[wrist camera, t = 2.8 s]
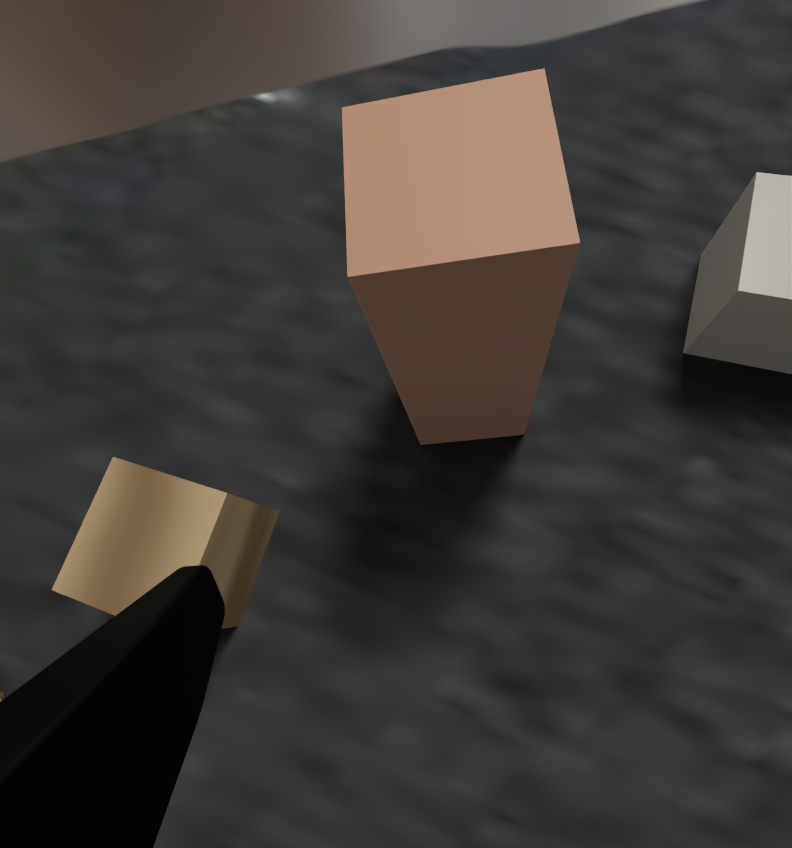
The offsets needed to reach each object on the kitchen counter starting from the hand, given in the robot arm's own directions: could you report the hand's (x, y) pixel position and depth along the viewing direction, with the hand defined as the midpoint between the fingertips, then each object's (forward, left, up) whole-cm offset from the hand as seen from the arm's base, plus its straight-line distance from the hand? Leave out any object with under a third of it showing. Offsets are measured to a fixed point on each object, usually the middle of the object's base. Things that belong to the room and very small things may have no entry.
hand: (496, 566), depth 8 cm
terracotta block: (+3, -7, -13) cm, 16 cm away
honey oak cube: (+12, +3, -14) cm, 18 cm away
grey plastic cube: (-8, -14, -14) cm, 21 cm away
